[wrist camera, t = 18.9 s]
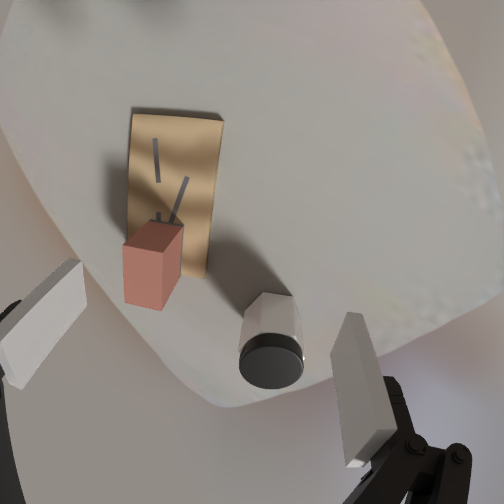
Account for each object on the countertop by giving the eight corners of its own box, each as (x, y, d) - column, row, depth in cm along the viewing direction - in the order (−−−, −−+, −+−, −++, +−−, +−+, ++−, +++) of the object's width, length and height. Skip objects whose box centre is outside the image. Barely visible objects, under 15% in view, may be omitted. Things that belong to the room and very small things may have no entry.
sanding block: (150, 219, 42) (122, 245, 34) (184, 225, 42) (162, 253, 34) (148, 269, 46) (124, 302, 38) (180, 276, 46) (161, 311, 38)
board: (136, 113, 37) (133, 113, 36) (224, 121, 37) (222, 121, 36) (130, 260, 47) (127, 264, 46) (205, 274, 47) (204, 278, 46)
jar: (237, 299, 48) (226, 352, 37) (288, 283, 46) (291, 335, 35) (259, 341, 51) (254, 396, 40) (306, 328, 49) (311, 383, 39)
